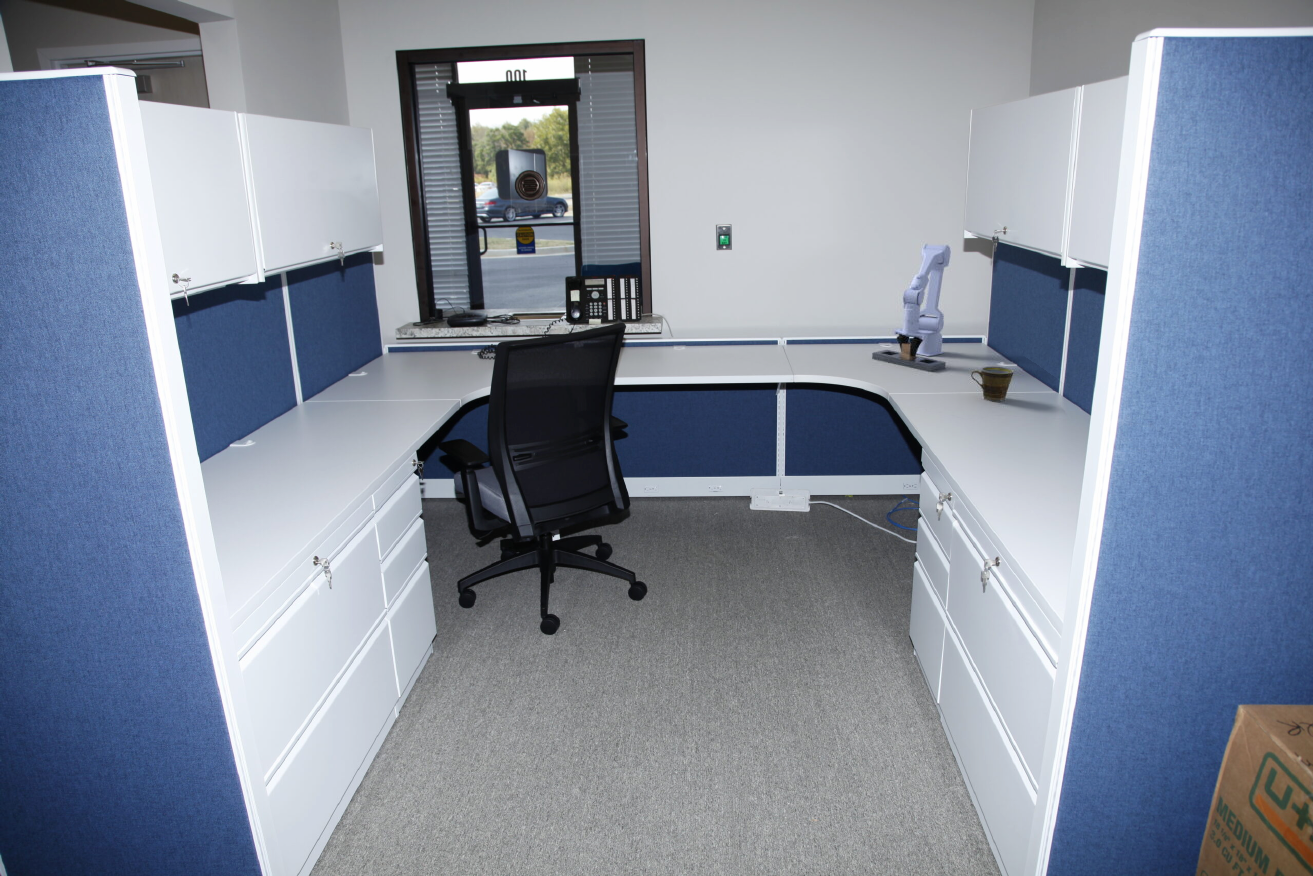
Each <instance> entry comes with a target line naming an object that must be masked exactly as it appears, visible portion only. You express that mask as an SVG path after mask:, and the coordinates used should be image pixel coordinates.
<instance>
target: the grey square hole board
mask: <svg viewBox="0 0 1313 876" xmlns="http://www.w3.org/2000/svg"><path fill="white" fill-rule="evenodd" d="M871 359H872V360H877V361H880V362H884V363H890V364H893V365H898V366H903V367H907V368H911V369H917V370H920V371H923V372H928V373H929V372H930V373H931V372H935V371H940V370H945V369H946V363H947V362H946V361H942V360H937V359H933V358H929V357H924V356H918V355H916V358H914V359H905V358H901V351H895V350H890V349H883V350H879V351H874V352H872V358H871Z"/></svg>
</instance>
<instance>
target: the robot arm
mask: <svg viewBox="0 0 1313 876" xmlns="http://www.w3.org/2000/svg"><path fill="white" fill-rule="evenodd" d="M920 254H921V260H922V262H921V264H920V265H921V266H920V268H919V272H918V273H917V274H915V275H914V277H913V279H912V281H911V283H910V286H909V288H908V289H906V290H905V291H904V293H903V297H902V303H903V309H904V315H903V327H902V329H899V328H894V329H893V335H898V336H896V340H897V342H898V344H899V348H900V350H901V349H902V343H907V342H909V341H910V343H911V356H917V355H921V356H926V357H932V356H937V355H941V354H944V351H942V347H943V334H942V333H941V332H942V330H943V329H944V322H945V318H944V316H945V315H944V313H943V312H942V311H941V310H940V309H939V302H940V296H941V289H942V282H943V275H944V271H945V268H947V267H949V264H950V261H951V260H950V259H951V247H950V246H949V244H946V245H944V244H942V245H941V244H929V243H926V244H924V245H923V246H922V248H921V253H920ZM927 286H928V288H927ZM926 288H927V294H926V293H925V290H926ZM925 294H926V295H927V296H926V299H925ZM924 299H925V301H926V302H925V306H924V307H925V308H923V309H921V305H922V304H923V303H924Z"/></svg>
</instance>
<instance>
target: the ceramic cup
mask: <svg viewBox="0 0 1313 876" xmlns="http://www.w3.org/2000/svg"><path fill="white" fill-rule="evenodd" d="M980 371H981V372H980ZM980 371H979V370H974V371H972V372H971V379H972V380H973V381H975V382H976V383H977V384H978V385H979V387H981V389H982V397H984V398H983V400H985V399H987V400H986V401H988V400H992V401H991V402H996V401H1000V402H1002V401H1001V400H1004V401H1005V400H1006V396H1007V393H1008V389H1009V387H1010V385H1011V381H1012V379H1013V375H1014V370H1013V369H1011V368H1007V367H1003V366H984V367H982V368H981V369H980ZM975 373H976V374H978V375H979V376H980V378H981V382H982V383H980V382H979V381H978V380H977V379H975V378H974V376H973V375H974V374H975Z"/></svg>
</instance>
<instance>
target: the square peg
mask: <svg viewBox="0 0 1313 876" xmlns="http://www.w3.org/2000/svg"><path fill="white" fill-rule="evenodd" d="M900 352H901V358H905V359H914V358H916V356H917V355H916V356H911V342H909V341H908V342H907V343H902V349H900Z"/></svg>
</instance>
